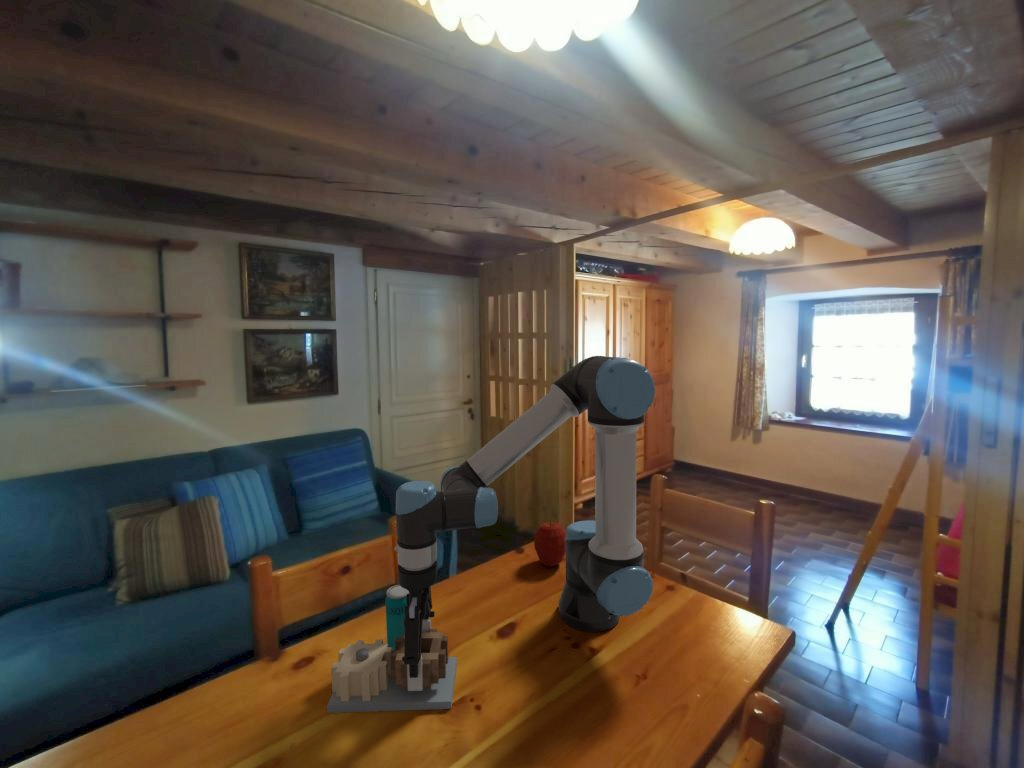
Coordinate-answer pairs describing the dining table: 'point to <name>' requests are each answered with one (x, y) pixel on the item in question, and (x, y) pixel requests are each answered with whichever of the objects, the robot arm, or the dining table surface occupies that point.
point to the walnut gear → (432, 659)
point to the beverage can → (395, 613)
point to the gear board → (381, 683)
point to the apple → (550, 543)
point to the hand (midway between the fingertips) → (420, 667)
